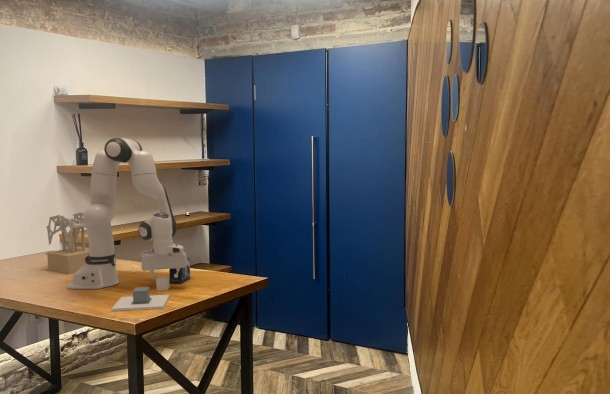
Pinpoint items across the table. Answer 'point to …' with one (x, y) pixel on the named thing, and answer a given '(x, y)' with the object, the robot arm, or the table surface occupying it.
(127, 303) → the plate
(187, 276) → the small box
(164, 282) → the off-white block
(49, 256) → the kinetic sculpture
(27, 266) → the table surface
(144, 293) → the slate block
